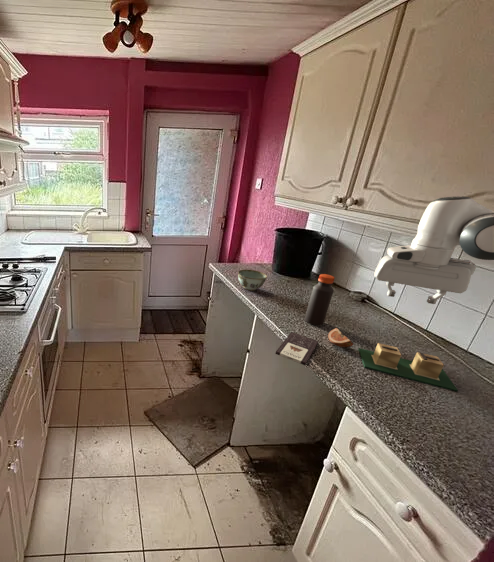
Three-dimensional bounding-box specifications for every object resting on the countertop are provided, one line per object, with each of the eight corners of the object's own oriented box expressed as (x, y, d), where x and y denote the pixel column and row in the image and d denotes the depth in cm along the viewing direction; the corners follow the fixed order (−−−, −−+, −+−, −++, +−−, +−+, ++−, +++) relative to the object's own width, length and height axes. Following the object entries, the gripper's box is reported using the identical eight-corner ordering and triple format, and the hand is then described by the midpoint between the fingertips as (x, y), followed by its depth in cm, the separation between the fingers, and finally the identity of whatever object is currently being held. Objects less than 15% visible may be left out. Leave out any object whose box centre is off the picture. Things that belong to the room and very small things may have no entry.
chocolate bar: (318, 341, 111) (305, 362, 98) (317, 343, 111) (305, 365, 99) (291, 331, 116) (276, 351, 104) (290, 333, 117) (275, 353, 104)
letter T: (431, 369, 98) (438, 355, 96) (437, 378, 94) (444, 364, 92) (410, 364, 100) (417, 351, 98) (415, 373, 96) (422, 359, 94)
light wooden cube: (391, 360, 102) (397, 346, 100) (395, 368, 98) (401, 354, 96) (372, 355, 104) (378, 342, 102) (376, 363, 100) (381, 349, 98)
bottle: (326, 323, 126) (340, 277, 119) (318, 327, 122) (333, 280, 115) (308, 316, 131) (321, 272, 124) (301, 320, 127) (313, 275, 120)
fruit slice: (355, 353, 106) (359, 340, 105) (335, 351, 107) (339, 339, 105) (341, 340, 114) (345, 328, 112) (322, 338, 115) (326, 326, 113)
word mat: (441, 369, 99) (442, 367, 99) (457, 392, 90) (458, 390, 89) (358, 349, 109) (358, 347, 109) (364, 367, 99) (365, 365, 99)
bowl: (259, 284, 164) (262, 270, 161) (267, 294, 152) (271, 279, 149) (232, 282, 165) (235, 268, 162) (239, 292, 153) (242, 277, 150)
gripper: (473, 258, 86) (452, 303, 91) (381, 247, 95) (366, 288, 100) (484, 264, 81) (461, 311, 86) (386, 252, 89) (370, 295, 95)
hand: (409, 299), depth 93 cm, fingers open, 8 cm apart
